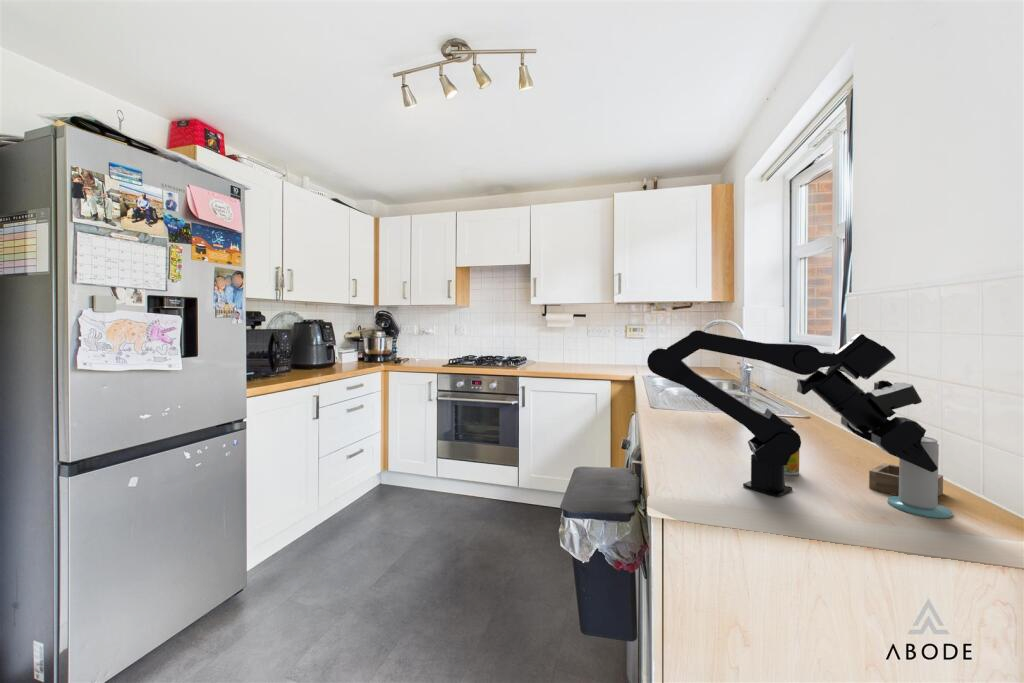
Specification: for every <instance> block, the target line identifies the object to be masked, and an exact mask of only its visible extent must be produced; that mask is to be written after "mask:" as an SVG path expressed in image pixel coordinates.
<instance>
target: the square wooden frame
mask: <svg viewBox="0 0 1024 683" xmlns="http://www.w3.org/2000/svg"><path fill="white" fill-rule="evenodd" d="M868 472H869V473H868V474H869V477H868V483H869V484H868V487H869V489H873V490H877V491H880V492H884V493H888V494H890V495H891V494H892V495H894V496H899V465H895V464H891V463H882V464H880V465H878V466H875V467H874V468H872V469H870V470H868ZM943 493H944V475H943V474H939V473H938V496H939V497H940V496H941V495H943Z"/></svg>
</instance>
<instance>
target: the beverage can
mask: <svg viewBox="0 0 1024 683" xmlns="http://www.w3.org/2000/svg"><path fill="white" fill-rule="evenodd" d="M921 444H922V446H923V447H924V449H925V450H926V452H927V453H928V455H929V456H930V457H931V459H932V460H933V462H934V463H935V465H936V466H937V467H938V469H937V470H936V471H934V472H930V471H928V470H925V469H923V468H921V467H919V466H916V465H914V464H912V463H909V462H907V461H905V460H903V459H900V458H898V459H899V460H898V461H899V465H898V466H899V495H898V496H899V499H900V501H901V502H902V503H904V504H905V505H908V506H911V507H914V508H918V509H924V510H933V509H935V508H936V507H937V504H939V503H938V501H939V500H938V474H939V455H940V454H939V451H940V450H939V449H940V448H939V446H940V445H939V443H938V439H935V438H933V437H932V438H931V437H929V436H928V437H927V436H924V437H923V438H922V440H921Z"/></svg>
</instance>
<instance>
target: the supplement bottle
mask: <svg viewBox="0 0 1024 683" xmlns="http://www.w3.org/2000/svg"><path fill="white" fill-rule="evenodd" d="M792 429H793V430H794V431H795V432H797V430H796V429H795V428H792ZM800 448H801V447H800ZM800 448H799V450H798V451H797V452H796V453H795V454H792V455H791V457H790V459H789V461H788V463H787V465H786V466H785V475H786V476H796V475H799V473H800Z"/></svg>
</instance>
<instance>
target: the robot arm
mask: <svg viewBox="0 0 1024 683" xmlns="http://www.w3.org/2000/svg"><path fill="white" fill-rule="evenodd" d="M699 350H704V351H710V352H715V353H719V354H724V355H730V356H735V357H740V358H745V359H750V360H755V361H761V362H764V363H767V364H768V365H769V364H770V365H772V366H773V367H774V366H775V367H777V368H780V369H784V370H786V371H788V372H792V373H795V374H798V375H802V376H808V375H809V376H808V377H806V378H805V379H800V378H798V379H796V382H797V388H796V391H797V392H798V393H799V394H801V395H804V396H805V395H807V394H808V393H809V392H811V391H812V392H813V393H815V394H816V395H817V397H819V398H820V399H822V401H824V403H826V404H827V405H828V406H829V408H830V409H831V410H832V411H833V412H834V413H837V415H840V424H841V426H844V428H846V429H847V430H848V431H850V432H851V433H853V434H855V435H856V436H858V437H860V438H862V439H864V440H866V441H868V442H871V443H873V444H875V445H876V446H878V447H879V448H880V449H881V450H882V451H884V452H886V453H888V455H891V456H893V457H896V458H898V459H899V458H900V459H903V460H905V461H907V462H909V463H912V464H914V465H916V466H919V467H921V468H923V469H925V470H928V471H930V472H934V471H936V470H937V469H938V470H939V466H938V467H937V466H936V465H935V463H934V462H933V460H932V459H931V457H930V456H929V455H928V453H927V452H926V450H925V449H924V447H923V446H922V444H921V440H922V438H923V437H925V435H926V432H927V429H925V428H924V427H923V426H921V424H919V423H918V422H917V421H915V420H912V419H910V418H907V417H903V416H902V417H901V416H894V415H895V414H896V411H894V410H897V409H900V408H903V407H908V406H911V405H919V404H921V403H922V402H923V401H922V398H921V397H920V395H919V393H918V392H917V390H916V388H915V386H914V384H911V383H907V382H894V383H891V382H890V381H889V380H885V379H881V380H877V381H875V382H874V384H873V385H874V386H873V389H872V390H871V391H866V390H863V389H862V388H861V387H860V386H858V385H857V384H856V383H855V382H853V381H852V380H851V379H850V378H852V379H854V380H856V381H857V380H858V379H860V378H861V379H863V380H869V379H870V378H871V377H873V376H875V374H877V373H878V372H880V371H881V370H882V369H883V368H885V367H887V366H888V365H889V364H891V363H893V361H894V360H896V358H897V357H896V356H895V354H894V353H893V352H892V351H891V350H890V349H888V347H886V346H885V345H882V344H880V343H878V342H876V341H875V340H873V339H870V338H869V337H867V336H866V335H864V334H863V333H860V334H859V333H857V334H855V335H854V336H852V337H851V339H850V340H849V341H848V342H847V343H845V344H844V345H843V346H842V347H840V348H839V349H838V350H836V351H835V352H833V351H823V352H821V351H820V350H819V349H818V347H817V348H816V347H815V346H813V345H810V344H800V343H777V342H776V343H772V342H771V343H770V342H767V343H766V342H760V341H753V340H748V339H743V338H738V337H732V336H726V335H721V334H715V333H710V332H705V331H703V330H697V329H696V330H693V331H691V332H690V333H689V334H688V335H687V336H685V337H683V338H682V339H680V340H678V341H677V342H675V343H673V344H671V345H669V346H668V347H658V348H655V349H654V350H652V351H651V352H650V353H649V355H648V357H647V361H646V363H647V367H648V369H649V370H650V371H651V372H652V374H655V375H656V376H658V377H661V378H663V379H666V380H667V381H670V382H674V383H675V384H678V385H680V386H683V387H685V388H686V389H688V390H689V391H691V392H692V393H694V394H695V395H697V396H698V397H700V398H701V399H703V400H705V401H706V402H707V403H709V404H711V405H712V406H713V407H715V408H717V409H718V410H719V411H721V412H723V413H724V414H726V415H727V416H729V417H730V418H731V419H733V420H735V421H736V422H738V423H739V424H741V425H742V426H743V427H745V428H746V429H747V430H748V431H749V432H750V433H751V434H752V435H753V436H752V437H751V439H749V440H748V441H747V444H748V447H749V449H750V451H751V452H752V454H751V456H750V480H749V481H746V482H743V483H742V486H743V487H744V488H749V489H751V490H754V491H757V492H760V493H764V494H766V495H770V496H773V497H780V496H783V495H785V494H788V493H789V492H791V491H793V487H792V486H789V485H786V481H785V480H786V478H785V477H786V476H785V466H786V465H787V463H788V461H789V459H790V457H791V455H792V454H795V453H796V452H797V451H798V450H799V451H800V449H799V448H801V444H802V439H801V436H800V435H799V432H797V431H796V432H795V431H794V430H793V429H795V425H793V423H791V422H790V421H789V420H787V418H783V417H781V416H778V415H776V413H774V412H773V411H772V410H771V409H770V408H766V409H765V410H764V412H761V411H758V410H756V409H754V408H751V407H750V406H749V405H747V404H746V403H744V402H742V401H741V400H739V399H738V398H736V397H735V396H734V395H732V394H730V393H729V392H727V391H725V390H724V389H722V388H721V387H719V386H718V385H716V384H714V383H713V382H711V381H710V380H708V379H707V378H705V377H704V376H702V375H700V374H699V373H697V372H696V371H695V370H693V369H692V368H691V367H690V366H688V365H687V364H686V362H684V361H683V360H684V359H686V358H687V357H689V356H690V355H692V354H694V353H695V352H697V351H699ZM823 368H826V369H824V370H822V371H821V370H820V369H823ZM839 369H840V370H841V371H842V372H841V371H840V370H839ZM844 373H845V374H846V375H847V376H848V377H850V378H848V377H847V376H846V375H845V374H844ZM797 392H796V393H797ZM892 416H894V417H893V418H892V419H888V418H891V417H892ZM792 428H793V429H792Z"/></svg>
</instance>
